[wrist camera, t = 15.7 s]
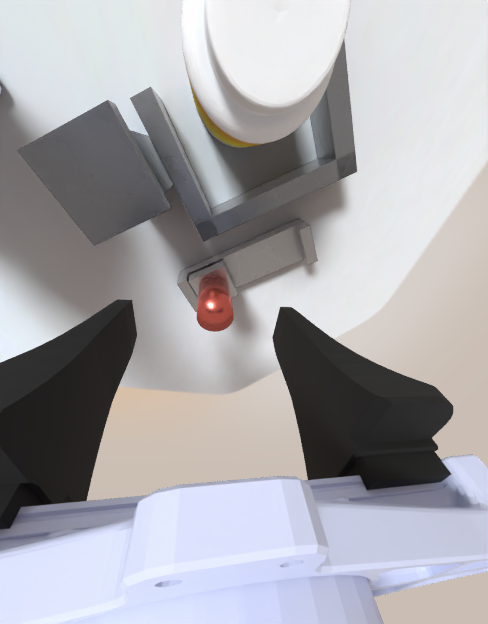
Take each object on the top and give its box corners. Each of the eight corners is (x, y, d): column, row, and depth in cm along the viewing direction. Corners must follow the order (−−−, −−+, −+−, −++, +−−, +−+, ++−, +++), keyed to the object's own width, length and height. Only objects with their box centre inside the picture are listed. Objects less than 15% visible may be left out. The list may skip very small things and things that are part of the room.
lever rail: (196, 298, 22) (195, 312, 20) (180, 271, 21) (177, 283, 19) (307, 250, 21) (317, 260, 19) (299, 218, 19) (309, 225, 17)
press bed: (160, 250, 19) (136, 298, 13) (88, 137, 15) (-3, 125, 8) (336, 169, 18) (409, 178, 11) (314, 15, 13) (415, -116, 7)
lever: (205, 301, 21) (204, 339, 17) (189, 275, 19) (184, 309, 15) (236, 288, 20) (244, 323, 16) (222, 260, 19) (227, 291, 15)
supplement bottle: (265, 159, 17) (324, 165, 8) (186, 131, 15) (160, 105, 7) (295, 50, 14) (430, -105, 6) (201, 4, 13) (189, -300, 4)
